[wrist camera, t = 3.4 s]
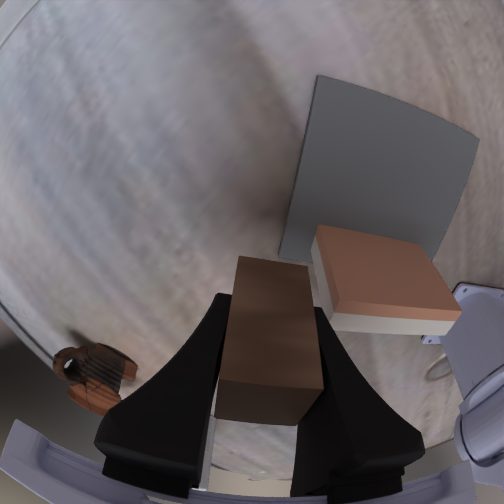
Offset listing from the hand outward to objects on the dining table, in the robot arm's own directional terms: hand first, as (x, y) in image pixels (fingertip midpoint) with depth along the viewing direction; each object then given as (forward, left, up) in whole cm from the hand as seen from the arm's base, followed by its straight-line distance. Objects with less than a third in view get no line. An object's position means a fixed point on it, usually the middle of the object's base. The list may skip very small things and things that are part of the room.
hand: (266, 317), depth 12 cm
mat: (-7, -4, -9) cm, 12 cm away
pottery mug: (+17, +22, -9) cm, 29 cm away
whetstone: (-7, 0, -8) cm, 11 cm away
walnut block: (0, 0, -2) cm, 2 cm away
